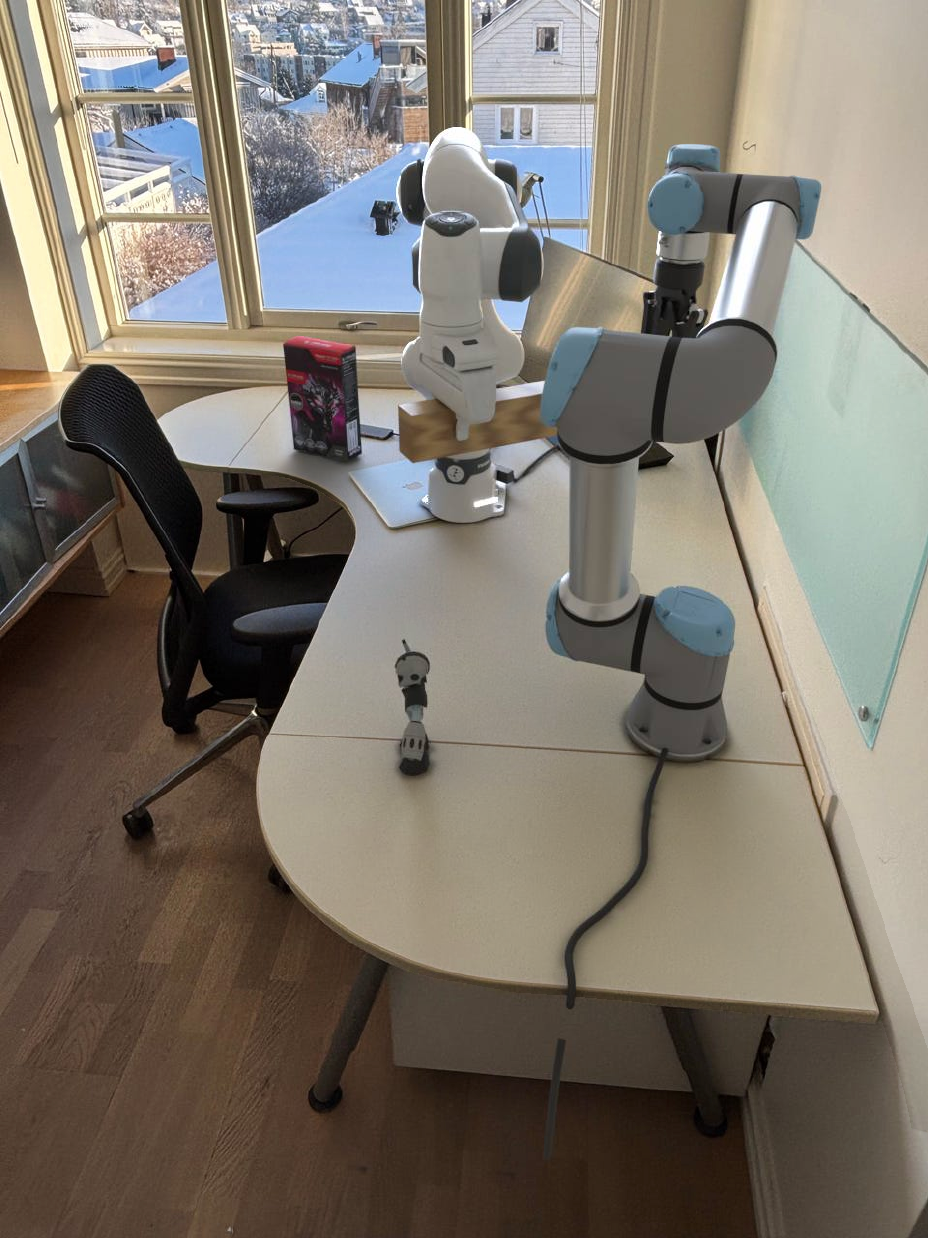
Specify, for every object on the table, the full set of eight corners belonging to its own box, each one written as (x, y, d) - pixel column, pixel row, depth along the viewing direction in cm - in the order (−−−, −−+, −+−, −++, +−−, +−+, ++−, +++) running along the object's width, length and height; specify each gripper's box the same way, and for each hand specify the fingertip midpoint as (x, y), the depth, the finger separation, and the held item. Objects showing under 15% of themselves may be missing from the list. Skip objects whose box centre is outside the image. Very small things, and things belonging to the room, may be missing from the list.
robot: (432, 803, 130) (430, 691, 118) (397, 804, 129) (392, 692, 118) (430, 713, 146) (428, 607, 135) (399, 714, 146) (394, 608, 134)
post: (686, 397, 158) (693, 356, 154) (705, 407, 155) (711, 364, 151) (399, 451, 138) (397, 404, 134) (412, 463, 135) (411, 415, 130)
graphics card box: (291, 450, 230) (280, 341, 215) (307, 440, 235) (297, 333, 220) (348, 464, 224) (341, 353, 209) (364, 454, 229) (358, 344, 214)
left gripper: (401, 321, 136) (404, 410, 144) (463, 363, 121) (462, 460, 129) (440, 316, 139) (440, 404, 146) (505, 356, 124) (502, 452, 131)
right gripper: (626, 248, 146) (611, 391, 159) (698, 273, 132) (676, 427, 145) (664, 244, 149) (647, 385, 161) (739, 268, 135) (714, 419, 148)
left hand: (451, 431), depth 138 cm, fingers closed on post, 5 cm apart
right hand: (661, 404), depth 153 cm, fingers closed on post, 5 cm apart
